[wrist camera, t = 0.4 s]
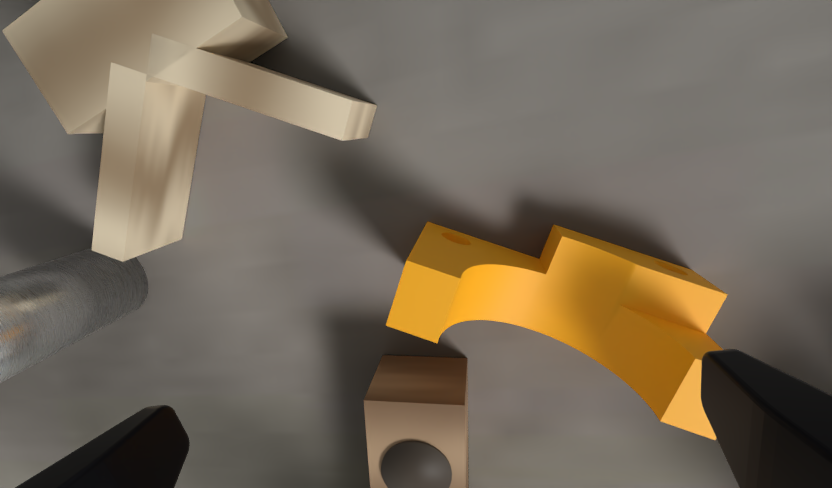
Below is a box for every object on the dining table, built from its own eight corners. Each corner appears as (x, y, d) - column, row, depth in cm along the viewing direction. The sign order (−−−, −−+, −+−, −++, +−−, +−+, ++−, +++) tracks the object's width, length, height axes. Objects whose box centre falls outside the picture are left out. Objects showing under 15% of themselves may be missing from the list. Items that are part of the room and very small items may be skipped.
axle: (154, 314, 25) (-131, 479, 13) (90, 312, 25) (-237, 470, 14) (140, 244, 24) (-182, 357, 12) (73, 244, 24) (-295, 352, 13)
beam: (469, 545, 26) (466, 622, 22) (394, 538, 26) (378, 611, 22) (467, 358, 23) (464, 407, 19) (382, 355, 23) (362, 402, 19)
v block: (387, 126, 20) (366, 127, 16) (166, 247, 23) (105, 271, 20) (278, -91, 19) (226, -147, 15) (56, 70, 22) (-35, 59, 18)
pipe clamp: (689, 268, 20) (782, 332, 14) (647, 349, 21) (715, 440, 15) (439, 186, 21) (421, 212, 15) (412, 269, 22) (385, 325, 16)
